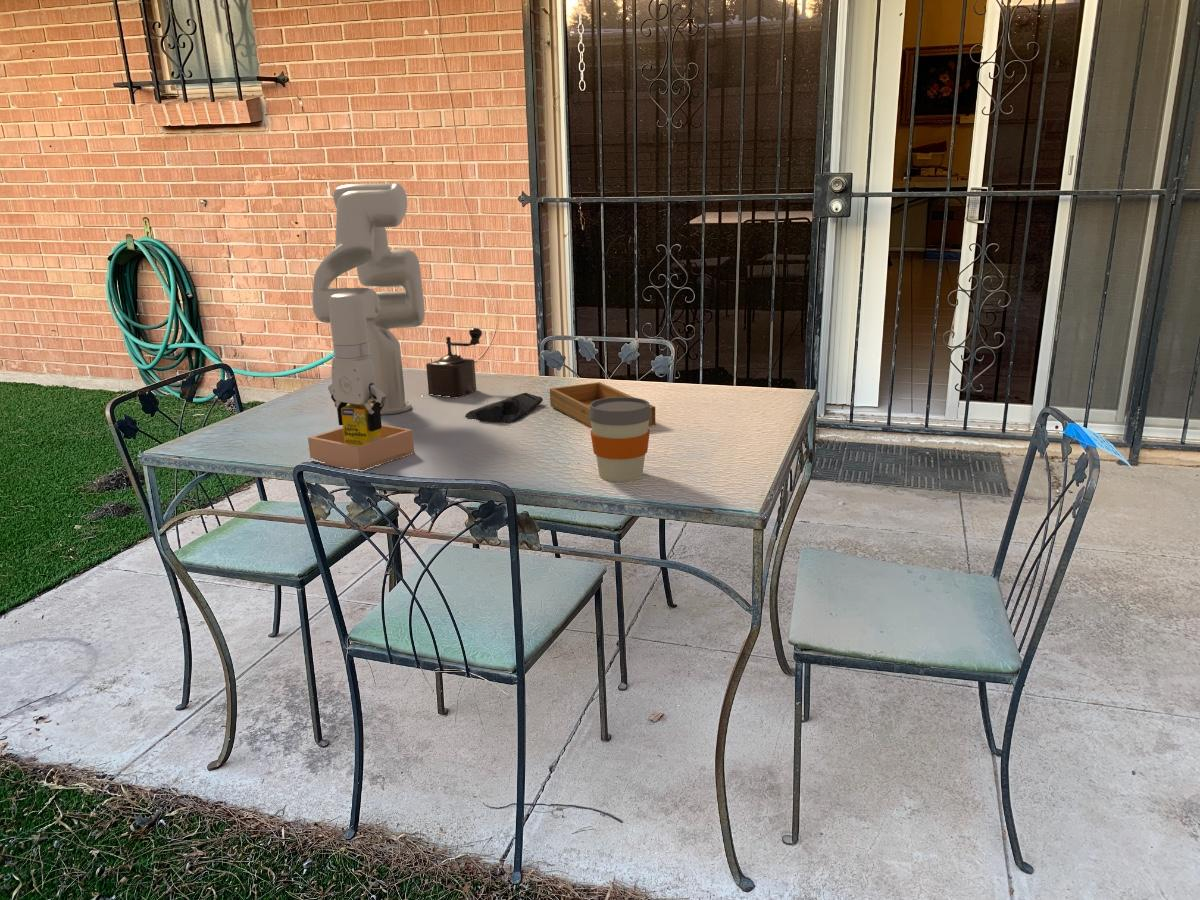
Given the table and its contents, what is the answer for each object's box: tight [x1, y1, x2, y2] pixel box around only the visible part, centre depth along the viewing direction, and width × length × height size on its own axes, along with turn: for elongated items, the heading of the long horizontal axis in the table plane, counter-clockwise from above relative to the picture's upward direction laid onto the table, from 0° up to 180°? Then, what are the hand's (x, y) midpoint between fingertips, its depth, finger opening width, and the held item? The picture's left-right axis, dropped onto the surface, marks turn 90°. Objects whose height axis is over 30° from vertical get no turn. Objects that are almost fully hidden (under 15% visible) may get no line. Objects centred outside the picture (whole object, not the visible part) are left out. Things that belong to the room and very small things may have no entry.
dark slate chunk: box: [464, 392, 544, 424], centre depth 232 cm, size 15×22×5 cm
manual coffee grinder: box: [425, 327, 483, 398], centre depth 255 cm, size 16×11×18 cm
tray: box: [549, 381, 656, 429], centre depth 225 cm, size 31×15×6 cm, turn 26°
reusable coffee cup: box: [589, 396, 651, 483], centre depth 178 cm, size 13×13×15 cm
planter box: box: [307, 423, 415, 470], centre depth 195 cm, size 16×16×6 cm
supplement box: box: [341, 403, 381, 446], centre depth 194 cm, size 6×6×11 cm
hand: (360, 426), depth 194 cm, fingers open, 9 cm apart
